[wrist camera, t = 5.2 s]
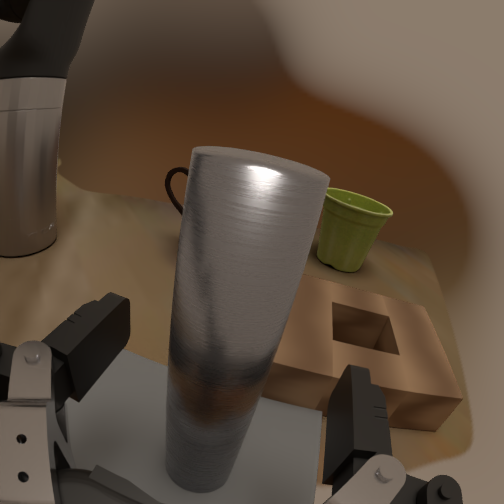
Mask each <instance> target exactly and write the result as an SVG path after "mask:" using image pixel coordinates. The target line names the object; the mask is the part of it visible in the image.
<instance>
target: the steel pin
mask: <svg viewBox="0 0 504 504" xmlns="http://www.w3.org/2000/svg"><path fill="white" fill-rule="evenodd" d="M329 181H330V177H329V176H327V175H326V174H324V173H323V172H321V171H318V170H316V169H314V168H311V167H308V166H306V165H303V164H300V163H297V162H294V161H291V160H287V159H284V158H280V157H276V156H272V155H268V154H264V153H259V152H254V151H248V150H242V149H235V148H226V147H214V146H203V147H195V148H193V150H192V156H191V162H190V168H189V174H188V180H187V187H186V193H185V200H184V207H183V214H182V222H181V229H180V237H179V245H178V254H177V263H176V272H175V281H174V291H173V302H172V314H171V326H170V340H169V355H168V373H167V396H166V440H165V465H166V470H167V473H168V475H169V477H170V478H171V480H172V481H173V482H174V483H175V484H176V485H178V486H179V487H181V488H182V489H184V490H187V491H190V492H194V493H208V492H212V491H215V490H217V489H219V488H220V487H222V486H223V485H224V484H225V483H226V482H227V480H228V478H229V476H230V473H231V471H232V469H233V466H234V464H235V461H236V459H237V456H238V454H239V451H240V449H241V446H242V444H243V441H244V439H245V436H246V434H247V431H248V429H249V426H250V423H251V421H252V418H253V416H254V413H255V410H256V408H257V405H258V402H259V400H260V397H261V394H262V392H263V389H264V386H265V383H266V381H267V378H268V375H269V372H270V370H271V367H272V364H273V361H274V358H275V355H276V353H277V350H278V347H279V344H280V341H281V338H282V335H283V332H284V329H285V326H286V323H287V320H288V317H289V314H290V311H291V308H292V305H293V302H294V299H295V296H296V293H297V290H298V287H299V283H300V280H301V277H302V274H303V271H304V267H305V264H306V261H307V258H308V254H309V251H310V248H311V244H312V241H313V238H314V234H315V231H316V227H317V224H318V220H319V216H320V213H321V210H322V206H323V203H324V199H325V196H326V192H327V188H328V185H329Z"/></svg>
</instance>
